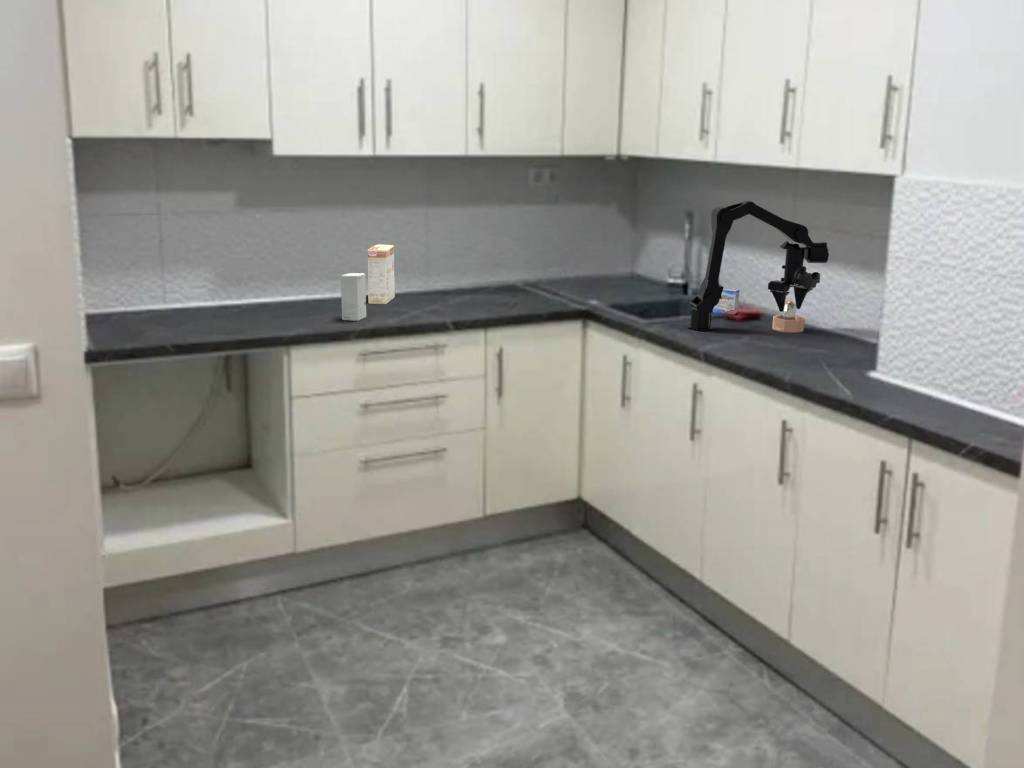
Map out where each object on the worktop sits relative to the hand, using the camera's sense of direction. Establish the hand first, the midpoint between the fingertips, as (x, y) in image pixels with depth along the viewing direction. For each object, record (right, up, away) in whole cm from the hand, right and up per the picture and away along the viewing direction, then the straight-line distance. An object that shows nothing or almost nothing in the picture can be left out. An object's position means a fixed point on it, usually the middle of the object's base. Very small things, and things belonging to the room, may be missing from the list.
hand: (789, 310), depth 341 cm
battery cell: (0, -5, +1) cm, 6 cm away
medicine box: (-15, +1, +28) cm, 32 cm away
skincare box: (-143, -3, +3) cm, 144 cm away
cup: (0, -6, +2) cm, 7 cm away
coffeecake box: (-139, +6, +38) cm, 144 cm away
